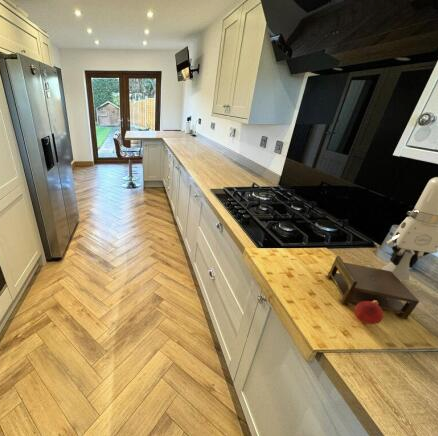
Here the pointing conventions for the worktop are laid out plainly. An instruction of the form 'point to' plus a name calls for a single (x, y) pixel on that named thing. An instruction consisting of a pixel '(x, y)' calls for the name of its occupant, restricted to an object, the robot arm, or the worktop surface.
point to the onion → (369, 312)
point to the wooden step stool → (372, 287)
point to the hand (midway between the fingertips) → (401, 263)
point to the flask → (401, 266)
